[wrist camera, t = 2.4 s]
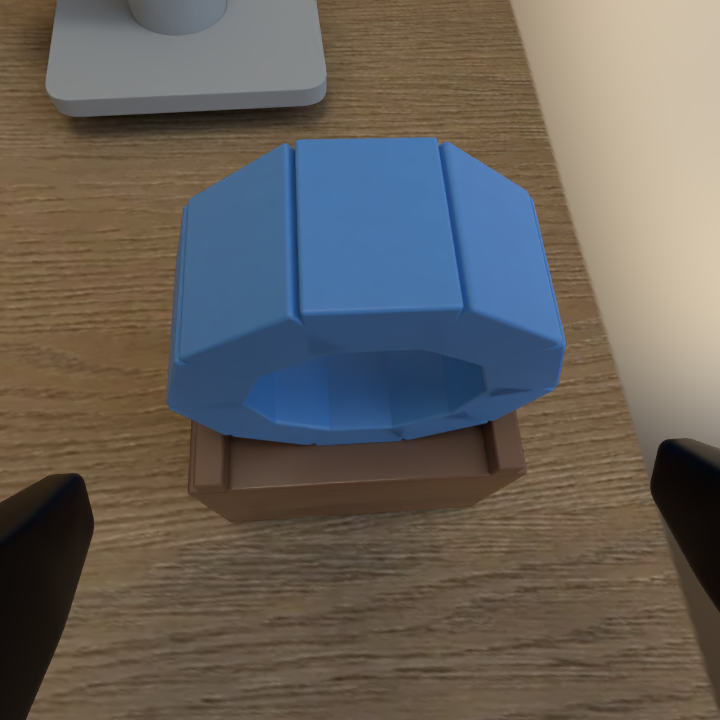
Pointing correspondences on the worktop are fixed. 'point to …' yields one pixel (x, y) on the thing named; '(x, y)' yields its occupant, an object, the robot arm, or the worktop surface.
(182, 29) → the shower valve
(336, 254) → the tape roll
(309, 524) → the worktop surface
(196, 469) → the tape cradle
